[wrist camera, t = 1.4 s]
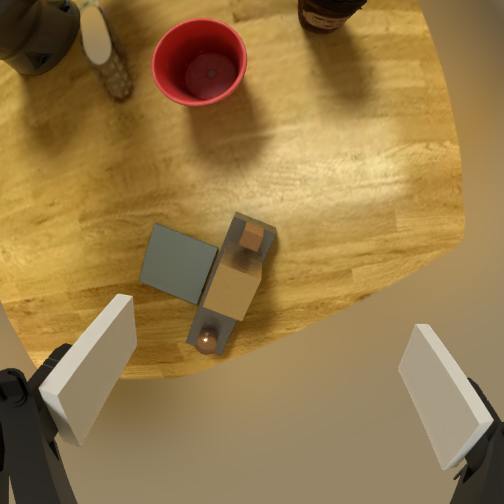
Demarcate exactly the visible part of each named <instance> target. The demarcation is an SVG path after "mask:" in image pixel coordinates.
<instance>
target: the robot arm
mask: <svg viewBox="0 0 504 504" xmlns="http://www.w3.org/2000/svg"><path fill="white" fill-rule="evenodd" d="M79 22H80V14H79V9H78V7H77V5H76V4H75V3H74V2H73V1H71V0H0V60H3V61H5V62H6V63H7V64H8V65H10V66H11V67H12V68H13V69H15V70H16V71H17V72H19V73H22V74H26V75H39V74H42V73H44V72H46V71H48V70H50V69H51V68H52V67H54V66H55V65H56V64H57V63H58V62H59V61H60V60H61V59H62V58H63V57H64V55H65V54H66V53H67V51H68V50H69V48H70V47H71V45H72V43H73V41H74V39H75V37H76V34H77V31H78V28H79ZM137 345H138V344H137V336H136V326H135V316H134V304H133V296H129V295H123V294H117V295H116V296H115V297H114V298H113V300H112V301H111V302H110V303H109V304H108V305H107V306H106V307H105V309H104V310H103V311H102V312H101V313H100V314H99V315H98V317H97V318H96V319H95V320H94V321H93V322H92V323H91V325H90V326H89V327H88V328H87V329H86V330H85V332H84V333H83V334H82V335H81V336H80V337H79V339H78V340H77V341H76V342H75V343H74V345H70V344H67V343H65V344H63V345H61V346H60V347H58V348H56V349H55V350H54V351H53V352H52V353H51V355H50V356H49V358H48V359H46V360H45V362H44V363H43V365H41V366H40V367H39V369H38V370H37V371H36V372H35V373H34V375H33V376H32V377H31V378H30V379H29V381H28V382H27V381H26V378H25V376H24V374H23V373H22V372H21V371H20V370H18V369H15V368H7V369H5V370H1V371H0V504H9V475H10V480H11V485H12V489H13V494H14V497H15V501H16V504H77V501H76V499H75V496H74V494H73V491H72V489H71V486H70V483H69V480H68V478H67V475H66V472H65V469H64V466H63V463H62V460H61V457H60V454H59V450H58V447H57V443H56V441H55V439H54V437H55V436H56V434H57V432H59V434H60V436H61V437H62V439H63V441H65V442H68V443H70V444H73V445H75V446H78V447H81V446H82V444H83V442H84V440H85V438H86V436H87V434H88V432H89V431H90V429H91V427H92V425H93V423H94V421H95V419H96V418H97V416H98V414H99V412H100V410H101V408H102V407H103V405H104V403H105V401H106V399H107V397H108V395H109V394H110V392H111V390H112V389H113V387H114V385H115V383H116V382H117V380H118V378H119V376H120V375H121V373H122V371H123V369H124V368H125V366H126V364H127V362H128V361H129V359H130V357H131V355H132V354H133V352H134V350H135V349H136V347H137ZM398 371H399V373H400V375H401V377H402V379H403V381H404V383H405V385H406V387H407V390H408V392H409V394H410V396H411V398H412V400H413V403H414V405H415V407H416V409H417V411H418V414H419V416H420V418H421V421H422V423H423V425H424V427H425V430H426V432H427V434H428V437H429V439H430V441H431V444H432V446H433V449H434V451H435V454H436V456H437V459H438V461H439V464H440V466H441V468H442V470H445V469H449V468H453V467H457V466H458V465H459V463H460V462H461V461H462V460H463V459H464V458H465V459H466V461H467V464H466V465H465V466H464V467H463V468H462V469H461V471H459V473H458V474H457V475H456V476H455V477H454V480H456V479H457V478H458V477H459V476H460V475H461V476H460V479H459V481H458V484H457V487H456V489H455V492H454V495H453V497H452V499H451V502H450V504H504V422H501V420H500V418H499V417H498V415H497V414H496V412H495V410H494V409H493V407H492V406H491V404H490V403H489V401H487V398H486V397H485V395H484V394H483V392H482V391H481V389H480V388H479V386H478V385H477V384H476V383H475V382H473V380H472V379H470V378H466V376H465V375H464V373H463V372H462V370H461V369H460V368H459V366H458V365H457V363H456V362H455V360H454V359H453V357H452V356H451V355H450V353H449V352H448V351H447V349H446V348H445V346H444V345H443V344H442V342H441V341H440V339H439V338H438V337H437V336H436V334H435V333H434V331H433V330H432V329H431V327H430V326H429V325H428V324H415V327H414V330H413V332H412V335H411V338H410V340H409V343H408V345H407V348H406V350H405V353H404V355H403V357H402V360H401V362H400V365H399V367H398Z"/></svg>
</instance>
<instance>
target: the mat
mask: <svg viewBox="0 0 504 504" xmlns="http://www.w3.org/2000/svg"><path fill="white" fill-rule="evenodd" d="M217 249H218V248H217V247H215V246H212V245H210V244H207V243H205V242H202V241H200V240H197V239H195V238H192V237H190V236H187V235H185V234H182V233H180V232H177V231H175V230H172V229H170V228H167V227H165V226H162V225H160V224H157V223H155V224H154V227H153V231H152V234H151V238H150V241H149V245H148V248H147V252H146V255H145V259H144V263H143V267H142V270H141V274H140V278H139V281H140V282H142V283H145V284H147V285H149V286H152V287H154V288H156V289H159V290H161V291H164V292H166V293H168V294H171V295H173V296H176V297H178V298H181V299H183V300H186V301H188V302H191V303H193V304H196V305H197V302H198V299H199V297H200V294H201V291H202V289H203V286H204V283H205V281H206V278H207V275H208V273H209V270H210V268H211V265H212V262H213V260H214V257H215V254H216V252H217Z"/></svg>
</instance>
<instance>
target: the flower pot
mask: <svg viewBox="0 0 504 504" xmlns="http://www.w3.org/2000/svg"><path fill="white" fill-rule="evenodd" d="M246 66H247V53H246V49H245V45H244V43H243V41H242V39H241V37H240V36H239V35H238V33H237V32H236V31H235V30H234V29H232V28H231V27H230V26H228V25H227V24H225V23H223V22H220V21H218V20H214V19H208V18H196V19H191V20H187V21H185V22H182V23H180V24H178V25H176V26H175V27H173V28H172V29H170V30H169V31H168V32H167V33H166V34H165V35H164V36H163V37H162V38H161V40H160V41H159V43H158V44H157V46H156V48H155V51H154V54H153V57H152V66H151V68H152V75H153V78H154V81H155V83H156V85H157V87H158V88H159V90H160V91H161V92H162V93H163V94H164V95H165V96H166V97H167V98H169V99H170V100H172V101H174V102H176V103H179V104H182V105H186V106H206V105H211V104H215V103H218V102H220V101H222V100H224V99H226V98H228V97H229V96H230V95H231V94H232V93H233V92H234V91H235V90H236V89H237V87H238V86H239V84H240V83H241V81H242V79H243V77H244V74H245V71H246Z"/></svg>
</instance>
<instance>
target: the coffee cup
mask: <svg viewBox="0 0 504 504" xmlns="http://www.w3.org/2000/svg"><path fill="white" fill-rule="evenodd" d="M366 2H367V0H298V16H299V20H300V23H301V25H302V26H304V27H305V28H306V29H307V30H309V31H311V32H313V33H317V34H328V33H331V32H333V31H335V30H336V29H337V28H338V27H339V26H340V25H342V24H343V23H345V22H346V21H347V19H349V18H350V17H351V16H352V15H353V14H354V13H355V12H356V11H357V10H358V9H362V8H361V6H363V5H364V4H365V3H366Z"/></svg>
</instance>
